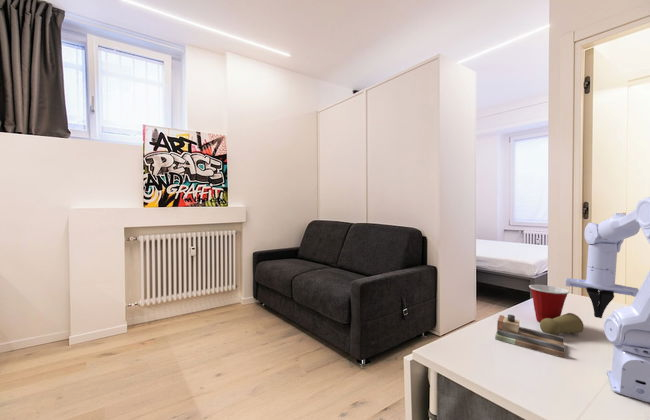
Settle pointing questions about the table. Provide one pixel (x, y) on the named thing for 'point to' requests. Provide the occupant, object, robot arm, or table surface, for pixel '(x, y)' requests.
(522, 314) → the table surface
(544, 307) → the plastic cup
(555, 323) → the brown rounded lump
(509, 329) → the slider
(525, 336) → the track
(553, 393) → the table surface
